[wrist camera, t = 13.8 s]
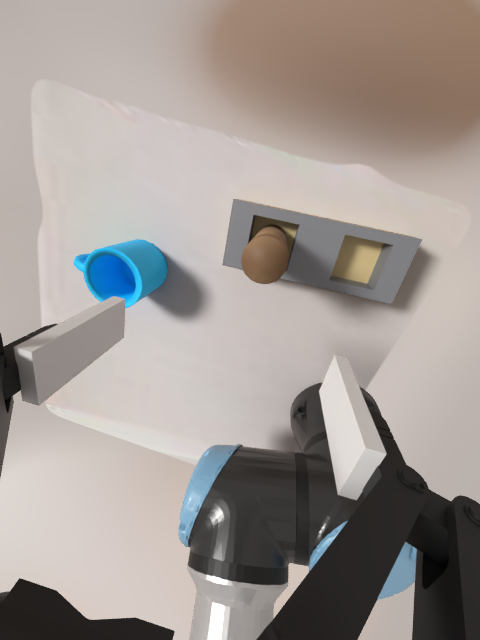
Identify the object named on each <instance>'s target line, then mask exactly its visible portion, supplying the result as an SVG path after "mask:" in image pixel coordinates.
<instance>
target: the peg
mask: <svg viewBox="0 0 480 640" xmlns="http://www.w3.org/2000/svg"><path fill="white" fill-rule="evenodd" d="M241 264H242V268H243V271H244V272H245V274H246V275H247V276H248V277H249V278H250V279H251V280H252V281H254V282H257V283H261V284H269V283H272V282H275V281H277V280H278V279H279V278H281V277H282V275H283V274H284V273H285V271H286V269H287V265H288V249H287V236H286V233H285V231H284V230H283V229H282V228H281V227H280V226H278V225H274V224H271V225H267V226H265V227H263V228H262V229H261V230H260V231H259V232H258V233H257V235H256V236H255V237H254V238H253V239H252V240H251V241H250V242H249V243H248V244H247V246H246V247H245V249H244V250H243V253H242V257H241Z"/></svg>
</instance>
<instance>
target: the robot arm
mask: <svg viewBox="0 0 480 640" xmlns="http://www.w3.org/2000/svg"><path fill="white" fill-rule="evenodd" d="M124 322H125V299H124V298H120V297H116V296H112V297H110V298H109V299H107V300H105V301H103V302H101V303H99V304H97V305H95V306H93V307H91V308H89V309H87V310H85V311H83V312H81V313H79V314H77V315H75V316H73V317H71V318H69V319H67V320H66V321H64V322H62V323H60V324H53V325H49V326H45V327H43V328H40V329H38V330H37V331H35V332H32V333H30V334H28V335H27V336H24V337H22V338H20V339H18V340H16V341H14V342H12V343H10V344H8V345H6V346H4V347H3V343H2V337H1V333H0V476H1V471H2V465H3V459H4V454H5V448H6V442H7V437H8V431H9V425H10V420H11V414H12V408H13V403H14V401H13V395H14V394H16V393H17V392H18V391H20V390H21V394H22V400H23V401H25V402H29V403H32V404H36V405H40V404H41V403H43V402H44V401H45V400H46V399H48V398H49V397H50V396H51V395H53V394H54V393H55V392H56V391H58V390H59V389H60V388H61V387H63V386H64V385H65V384H66V383H68V382H69V381H70V380H71V379H73V378H74V377H75V376H76V375H78V374H79V373H80V372H81V371H83V370H84V369H85V368H86V367H88V366H89V365H90V364H91V363H93V362H94V361H95V360H96V359H98V358H99V357H100V356H101V355H103V354H104V353H105V352H106V351H108V350H109V349H110V348H111V347H113V346H114V345H115V344H116V343H117V342H119V341H120V340H121V339H122V338H124ZM290 416H291V428H292V431H293V434H294V436H295V438H296V440H297V443H298V445H299V447H300V449H301V451H302V453H295V452H287V451H277V450H268V449H258V448H250V447H243V446H242V445H240V444H238V445H236V446H233V445H214V446H212V447H210V448H209V449H207V450H206V451H205V453H204V454H203V455H202V457H201V458H200V460H199V461H198V463H197V465H196V467H195V469H194V472H193V474H192V477H191V479H190V482H189V485H188V488H187V491H186V494H185V497H184V501H183V505H182V509H181V514H180V521H181V522H180V526H179V539H180V541H181V542H182V543H183V544H184V545H185V546H186V547H190V556H189V561H188V567H187V569H188V571H189V573H190V575H191V577H192V579H193V581H194V583H195V585H196V589H197V594H196V600H195V607H194V614H193V620H192V626H191V633H190V640H357V639H358V637H359V635H360V633H361V631H362V629H363V627H364V625H365V623H366V621H367V619H368V617H369V615H370V613H371V611H372V609H373V607H374V604H375V603H376V601H377V600H378V599H382V598H386V597H390V596H393V595H394V594H397V593H400V592H402V591H403V590H405V589H407V588H408V587H409V586H410V585H412V584H413V583H414V582H415V593H414V594H415V596H414V614H413V634H412V640H480V504H479V503H477V502H476V501H474V500H472V499H470V498H468V497H465V496H457V497H455V498H454V499H453V500H452V501H449V500H447V499H445V498H443V497H441V496H440V495H438V494H436V493H434V492H432V491H431V490H429V489H428V486H427V484H426V482H425V481H424V479H423V478H422V477H421V475H419V474H418V473H417V472H416V471H415V470H414V469H412V468H411V467H409V466H407V465H406V463H405V461H404V459H403V457H402V454H401V452H400V450H399V448H398V446H397V444H396V442H395V440H394V439H393V435H392V433H391V432H390V429H389V427H388V425H387V423H386V421H385V420H384V419H383V417H382V416H381V413H380V410H379V408H378V406H377V404H376V402H375V400H374V399H373V397H372V396H371V395H370V394H369V393H368V392H366V391H365V390H363V389H362V388H360V387H359V385H358V383H357V380H356V378H355V375H354V373H353V371H352V368H351V366H350V363H349V361H348V358H344V357H340V356H337V355H334V358H333V360H332V362H331V365H330V367H329V369H328V372H327V374H326V376H325V379H324V381H323V383H319V384H316V385H313V386H311V387H309V388H307V389H305V390H304V391H302V392H301V393H300V394H299V395H298V396H297V397H296V399H295V400H294V402H293V404H292V407H291V412H290ZM289 563H295V564H299V565H305V566H309V573H308V575H307V576H306V577H305V578H304V580H303V581H302V582H301V584H300V585H299V586H298V588H297V589H296V590H295V592H294V593H293V594H292V596H291V597H290V598H289V599H288V601H287V602H286V603H285V605H284V606H283V607H282V609H281V610H280V612H279V613H278V614H277V615H276V617H275V618H274V619H273V608H274V603H275V601H276V599H277V598H278V597H279V596H280V594H281V593H282V592H283V591H284V590H285V589H286V587H287V586H288V564H289ZM173 636H174V631H173V630H170V629H167V628H164V627H161V626H158V625H155V624H153V623H149V622H146V621H144V620H140V619H138V618H121V619H102V620H89V619H87V618H85V617H84V616H83V615H82V614H81V613H80V612H78V611H77V609H75V608H74V607H73V606H72V605H71V604H70V603H69V602H68V601H67V600H66V599H65V598H64V597H63V596H62V595H61V594H59V593H58V592H57V591H56V590H53V589H50V588H47V587H44V586H41V585H38V584H35V583H32V582H29V581H26V580H23V579H19V580H18V581H17V582H16V584H15V585H14V587H13V588H12V589H11V591H10V592H3V593H0V640H172V639H173Z"/></svg>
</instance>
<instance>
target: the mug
mask: <svg viewBox="0 0 480 640" xmlns="http://www.w3.org/2000/svg"><path fill="white" fill-rule="evenodd" d="M74 265H75V266H76V268H77V269H78V270H80V271H82V272H84V278H85V282H86V284H87V286H88V288H89V290H90V292H91V293H92V294H93V295H94V297H95V298H96V299H98V300H99V301H100V302H103V301H105V300H107V299H109V298H110V297H112V296H116V297H120V298H124V299H125V308H128V307H130V306H132V305H133V304H135V303H136V302H138V301H139V300H141V299H142V298H144V297H145V296H147V295H148V294H150V293H151V292H153V291H154V290H156V289H157V288H159V287H160V286H161V285H162V284H163V283H164V281H165V280H166V276H167V263H166V260H165V258H164V256H163V254H162V253H161V251H160V250H159V249H158V248H157V247H156V246H155V245H153V244H152V243H150V242H147V241H145V240H133V241H129V242H125V243H121V244H117V245H112V246H108V247H104V248H101V249H97V250H94V251H93V252H92V253H91V254H82V255H79V256H77V257H75V259H74Z"/></svg>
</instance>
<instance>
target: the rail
mask: <svg viewBox="0 0 480 640" xmlns="http://www.w3.org/2000/svg"><path fill="white" fill-rule="evenodd" d="M271 224H274V225H278V226H280V227H281V228H282V229H283V230H284V231H285V233H286V236H287V249H288V265H287V269H286V271H285V273H284V274H283V275H282V277H281V278H280V279H285V280H289V281H293V282H298V283H302V284H306V285H311V286H315V287H319V288H324V289H328V290H332V291H337V292H341V293H345V294H350V295H354V296H358V297H363V298H367V299H371V300H375V301H380V302H384V303H388V304H392V302H393V300H394V298H395V296H396V294H397V292H398V290H399V288H400V286H401V283H402V281H403V279H404V277H405V275H406V273H407V271H408V269H409V267H410V264H411V262H412V260H413V258H414V256H415V254H416V252H417V250H418V248H419V245H420V243H421V241H422V239H418V238H414V237H411V236H407V235H403V234H398V233H393V232H389V231H384V230H379V229H375V228H370V227H365V226H361V225H356V224H351V223H347V222H342V221H337V220H333V219H328V218H323V217H319V216H314V215H309V214H305V213H300V212H295V211H291V210H286V209H281V208H277V207H272V206H268V205H263V204H258V203H254V202H249V201H244V200H239V199H233V205H232V211H231V217H230V223H229V229H228V235H227V241H226V247H225V253H224V259H223V265H224V266H229V267H233V268H237V269H242V270H243V268H242V264H241V257H242V253H243V250H244V249H245V247H246V246H247V244H248V243H249V242H250V241H251V240H252V239H253V238H254V237H255V236H256V235H257V233H258V232H259V231H260V230H261V229H262V228H263V227H265V226H267V225H271Z"/></svg>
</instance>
